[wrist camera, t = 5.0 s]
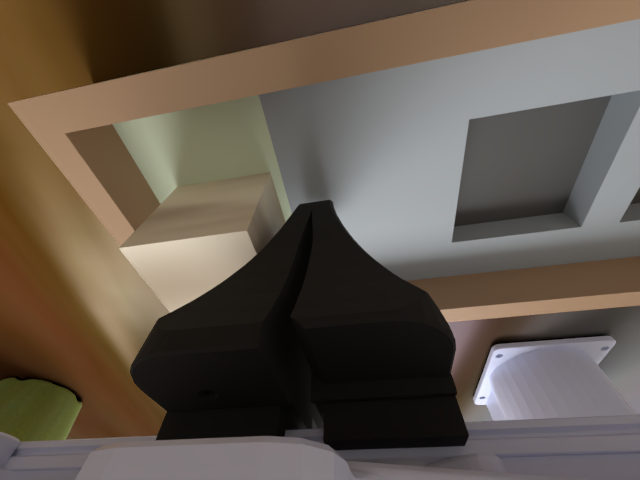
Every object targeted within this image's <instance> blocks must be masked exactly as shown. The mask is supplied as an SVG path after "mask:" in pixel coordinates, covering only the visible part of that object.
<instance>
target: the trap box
mask: <svg viewBox="0 0 640 480" xmlns="http://www.w3.org/2000/svg"><path fill="white" fill-rule="evenodd" d="M7 104H8V105H9V106H10V107H11V109H12V110H13V111H14V112H15V114H16V115H17V116H18V117H19V119H20V120H21V121H22V123H23V124H24V125H25V126H26V128H27V129H28V130H29V131H30V133H31V134H32V135H33V136H34V138H35V139H36V140H37V142H38V143H39V144H40V145H41V147H42V148H43V149H44V150H45V152H46V153H47V154H48V155H49V157H50V158H51V159H52V161H53V162H54V163H55V164H56V166H57V167H58V168H59V169H60V171H61V172H62V173H63V174H64V176H65V177H66V178H67V180H68V181H69V182H70V183H71V185H72V186H73V187H74V188H75V190H76V191H77V192H78V193H79V195H80V196H81V197H82V199H83V200H84V201H85V202H86V204H87V205H88V206H89V207H90V209H91V210H92V211H93V212H94V214H95V215H96V216H97V217H98V219H99V220H100V221H101V223H102V224H103V225H104V226H105V228H106V229H107V230H108V231H109V233H110V234H111V235H112V236H113V238H114V239H115V240H116V242H117V243H118V244H119V245H120V246H121V245H122V244H123V243H124V242H125V241H126V240H127V239H128V238H129V237H130V236H131V235H132V234H133V233H134V232H135V231H136V229H137V228H138V227H139V226H140V225H141V224H142V223H143V222H144V221H145V220H146V219H147V218H148V217H149V216H150V215H151V214H152V213H153V212H154V211H155V210H156V209H157V207H158V206H159V205H160V204H161V203H162V202H163V201H164V200H165V199H166V198H167V197H168V196H169V195H170V194H171V193H172V192H173V191H174V190H175V189H176V188H177V187H180V186H186V185H192V184H198V183H205V182H211V181H217V180H223V179H229V178H236V177H242V176H248V175H254V174H260V173H266V172H270V173H271V176H272V179H273V182H274V186H275V189H276V192H277V196H278V199H279V202H280V206H281V209H282V212H283V216H284V219H285V222H286V221H287V220H288V218H289V217H290V216H291V214H292V213H293V212H294V210H295V209H296V208H297V207H298V205H299V204H303V203H310V202H317V201H324V200H331V201H332V202H333V205H334V209H335V211H336V213H337V216H338V217H339V219H340V221H341V222H342V224H343V225H344V227H345V228H346V230H347V231H348V232H349V234H350V235H351V236H352V237H353V239H354V240H355V241H356V242H357V243H358V244H359V245H360V246H361V247H362V248H363V249H364V250H365V251H366V252H367V253H368V254H369V255H370V256H371V257H372V258H374V259H375V260H376V261H377V262H379V263H380V264H381V265H383V266H384V267H385V268H387V269H388V270H389V271H391V272H392V273H394V274H395V275H397V276H398V277H400V278H401V279H403V280H405V281H407V282H409V283H411V284H413V285H415V286H417V287H419V288H420V289H422V290H424V291H426V292H427V293H428V294H429V295H430V296H431V298H432V299H433V301H434V302H435V303H436V305H437V306H438V308H439V310H440V311H441V313H442V314H443V316H444V318H445V320H446V321H447V322H455V321H466V320H478V319H489V318H501V317H512V316H524V315H535V314H547V313H558V312H570V311H582V310H593V309H605V308H616V307H628V306H639V305H640V0H468V1H464V2H459V3H455V4H450V5H446V6H441V7H437V8H432V9H428V10H423V11H419V12H414V13H410V14H405V15H401V16H396V17H391V18H387V19H382V20H378V21H373V22H369V23H364V24H360V25H355V26H351V27H346V28H342V29H337V30H333V31H328V32H324V33H319V34H315V35H310V36H306V37H301V38H297V39H292V40H288V41H283V42H279V43H274V44H270V45H265V46H261V47H256V48H252V49H247V50H243V51H238V52H234V53H229V54H225V55H220V56H215V57H211V58H206V59H202V60H197V61H193V62H188V63H184V64H179V65H175V66H170V67H166V68H161V69H157V70H152V71H148V72H143V73H139V74H134V75H130V76H125V77H121V78H116V79H112V80H107V81H103V82H98V83H94V84H89V85H85V86H81V87H76V88H72V89H67V90H63V91H59V92H54V93H50V94H46V95H41V96H37V97H33V98H28V99H24V100H19V101H15V102H11V103H7Z"/></svg>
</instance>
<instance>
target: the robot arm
mask: <svg viewBox="0 0 640 480" xmlns="http://www.w3.org/2000/svg"><path fill="white" fill-rule="evenodd" d="M615 344H616V341H615V340H614V338H613V337H611V336H597V337H584V338H570V339H557V340H544V341H531V342H518V343H504V344H496V345H494V346H493V347H492V348H491V351H490V353H489V356H488V359H487V362H486V364H485V367H484V370H483V373H482V376H481V378H480V381H479V384H478V387H477V389H476V392H475V395H474V398H473V401H474V403H475V404H477V405H487V407H488V410H489V412H490V414H491V417H492V419H493V421H480V422H464V419H463V416H462V414H461V411H460V408H459V405H458V402H457V399H456V397H455V395H456V394H457V390H456V386H455V384H454V381H453V378H452V375H451V369H452V364H453V360H454V355H455V351H456V343H455V338H454V336H453V333H452V331H451V329H450V327H449V325H448V323H447V321H446V320H445V318H444V316H443V314H442V313H441V311H440V310H439V308H438V306H437V305H436V303H435V302H434V301H433V299H432V298H431V296H430V295H429V294H428V293H427V292H426V291H424V290H422V289H420V288H419V287H417V286H415V285H413V284H411V283H409V282H407V281H405V280H403V279H401V278H400V277H398V276H397V275H395V274H394V273H392V272H391V271H389V270H388V269H387V268H385V267H384V266H383V265H381V264H380V263H379V262H377V261H376V260H375V259H374V258H372V257H371V256H370V255H369V254H368V253H367V252H366V251H365V250H364V249H363V248H362V247H361V246H360V245H359V244H358V243H357V242H356V241H355V240H354V239H353V237H352V236H351V235H350V234H349V232H348V231H347V230H346V228H345V227H344V225H343V224H342V222H341V221H340V219H339V217H338V216H337V213H336V211H335V209H334V205H333V202H332V201H331V200H324V201H317V202H310V203H303V204H299V205H298V207H297V208H296V209H295V210H294V212H293V213H292V214H291V216H290V217H289V218H288V220H287V221H286V222H285V224H284V225H283V226H282V227H281V229H280V230H279V231H278V232H277V234H276V235H275V236H274V237H273V238H272V239H271V240H270V241H269V242H268V244H267V245H266V246H265V247H264V248H263V249H262V250H261V251H260V252H259V253H258V254H257V255H256V256H254V257H253V258H252V259H251V260H250V261H249V262H248V263H247V264H245V265H244V266H243V267H242V268H240V269H239V270H238V271H236V272H235V273H234V274H232V275H231V276H230V277H228V278H227V279H226V280H224V281H223V282H221V283H220V284H219V285H217V286H216V287H214V288H213V289H211V290H209V291H208V292H206V293H205V294H203V295H201V296H200V297H198V298H196V299H195V300H193V301H191V302H189V303H187V304H186V305H184V306H182V307H180V308H178V309H176V310H174V311H172V312H171V313H169V314H167V315H165V316H163V317H161V318H159V319H158V320H157V322H156V324H155V325H154V327H153V329H152V330H151V332H150V334H149V336H148V337H147V339H146V341H145V342H144V344H143V346H142V348H141V349H140V351H139V353H138V354H137V356H136V358H135V360H134V361H133V363H132V365H131V369H130V373H131V376H132V378H133V381H134V383H135V384H136V385H137V386H138V387H139V388H140V389H141V390H142V391H143V392H144V393H145V394H147V395H148V396H149V397H150V398H152V399H153V400H154V401H155V402H157V403H158V404H159V405H160V406H161V407H163V408H164V409H165V410H166V411H167V413H166V416H165V418H164V421H163V423H162V425H161V428H160V430H159V433H158V435H157V436H139V437H116V438H94V439H71V440H48V441H26V442H20V440H19V439H18V438H16V437H14V436H11V435H9V434H6V433H3V432H0V480H640V414H639V415H638V414H637V413H636V411H635V410H634V409H633V408H632V406H631V405H630V404H629V403H628V402H627V400H626V399H625V398H624V397H623V395H622V394H621V393H620V392H619V390H618V389H617V388H616V387H615V385H614V384H613V383H612V382H611V381H610V379H609V378H608V377H607V376H606V374H605V373H604V372H603V371H602V369H601V368H600V367H599V366H598V364H599V363H600V362H601V361H602V359H603V358H604V357H605V356H606V355H607V353H608V352H609V351H610V350H611V349H612V347H613V346H614V345H615Z"/></svg>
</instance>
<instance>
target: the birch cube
mask: <svg viewBox="0 0 640 480" xmlns="http://www.w3.org/2000/svg"><path fill="white" fill-rule="evenodd" d="M284 224H285V219H284V216H283V212H282V209H281V206H280V202H279V199H278V196H277V192H276V189H275V186H274V182H273V179H272V176H271V173H270V172H266V173H260V174H254V175H248V176H242V177H236V178H229V179H223V180H217V181H211V182H205V183H198V184H192V185H186V186H180V187H177V188H176V189H175V190H174V191H173V192H172V193H171V194H170V195H169V196H168V197H167V198H166V199H165V200H164V201H163V202H162V203H161V204H160V205H159V206H158V207H157V209H156V210H155V211H154V212H153V213H152V214H151V215H150V216H149V217H148V218H147V219H146V220H145V221H144V222H143V223H142V224H141V225H140V226H139V227H138V228H137V229H136V231H135V232H134V233H133V234H132V235H131V236H130V237H129V238H128V239H127V240H126V241H125V242H124V243H123V244H122V245H121V246H120V247H119V249H120V250H121V252H122V253H123V254H124V255H125V257H126V258H127V259H128V260H129V262H130V263H131V264H132V265H133V267H134V268H135V269H136V270H137V272H138V273H139V274H140V275H141V277H142V278H143V279H144V280H145V282H146V283H147V284H148V285H149V287H150V288H151V289H152V290H153V292H154V293H155V294H156V295H157V297H158V298H159V299H160V300H161V302H162V303H163V304H164V305H165V307H166V308H167V309H168V310H169V312H170V313H171V312H172V311H174V310H176V309H178V308H180V307H182V306H184V305H186V304H187V303H189V302H191V301H193V300H195V299H196V298H198V297H200V296H201V295H203V294H205V293H206V292H208V291H209V290H211V289H213V288H214V287H216V286H217V285H219V284H220V283H221V282H223V281H224V280H226V279H227V278H228V277H230V276H231V275H232V274H234V273H235V272H236V271H238V270H239V269H240V268H242V267H243V266H244V265H245V264H247V263H248V262H249V261H250V260H251V259H252V258H253V257H254V256H256V255H257V254H258V253H259V252H260V251H261V250H262V249H263V248H264V247H265V246H266V245H267V244H268V242H269V241H270V240H271V239H272V238H273V237H274V236H275V235H276V234H277V232H278V231H279V230H280V229H281V227H282V226H283V225H284Z"/></svg>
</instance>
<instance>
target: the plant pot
mask: <svg viewBox="0 0 640 480" xmlns="http://www.w3.org/2000/svg"><path fill="white" fill-rule="evenodd" d="M81 407H82V402H80V401H77V399H76V396H75V394H73V393H72V392H71V391H70V390H68V389H66V388H64V387H60V386H57V385H55V384H52V383H51V382H48V381H45V380H36V379H30V380H24V381H20V380H18V379H17V378H6V379H3V380H1V381H0V432H3V433H6V434H9V435H11V436H14V437H16V438H18V439H19V440H20V442H26V441H48V440H66V438H67V436H68V434H69V432H70V430H71V428H72V426H73V423H74V421H75V419H76V417H77V415H78V413H79V411H80V409H81Z"/></svg>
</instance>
